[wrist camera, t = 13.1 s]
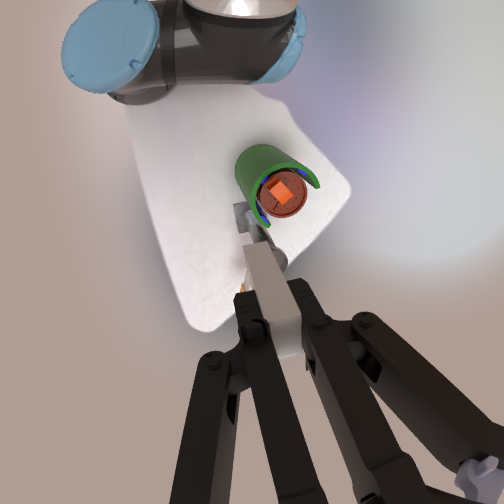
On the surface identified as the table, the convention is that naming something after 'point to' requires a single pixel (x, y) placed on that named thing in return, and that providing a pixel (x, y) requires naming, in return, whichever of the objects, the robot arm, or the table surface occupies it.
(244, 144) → the table surface
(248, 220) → the post
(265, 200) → the motor
